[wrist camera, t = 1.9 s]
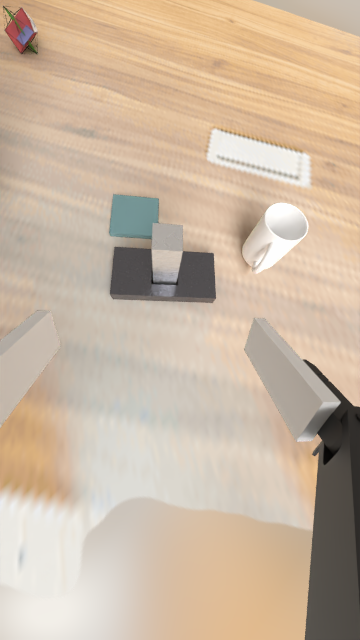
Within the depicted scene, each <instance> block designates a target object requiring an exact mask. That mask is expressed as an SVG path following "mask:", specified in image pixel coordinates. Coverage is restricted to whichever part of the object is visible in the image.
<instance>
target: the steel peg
mask: <svg viewBox="0 0 360 640" xmlns="http://www.w3.org/2000/svg"><path fill="white" fill-rule="evenodd" d="M182 253H183V225H172V224H160V223H153V227H152V267H153V284H159V285H176V282H177V277H178V272H179V267H180V263H181V258H182Z"/></svg>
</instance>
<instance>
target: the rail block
mask: <svg viewBox="0 0 360 640" xmlns="http://www.w3.org/2000/svg"><path fill="white" fill-rule="evenodd" d="M110 295H111V296H112V298H113V299H125V300H152V301H179V302H206V303H213V301H214V300H215V299H216V292H215V272H214V253H201V252H185V251H183V253H182V258H181V263H180V267H179V272H178V277H177V285H159V284H152V249H139V248H124V247H115V249H114V259H113V270H112V280H111V290H110Z"/></svg>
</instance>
